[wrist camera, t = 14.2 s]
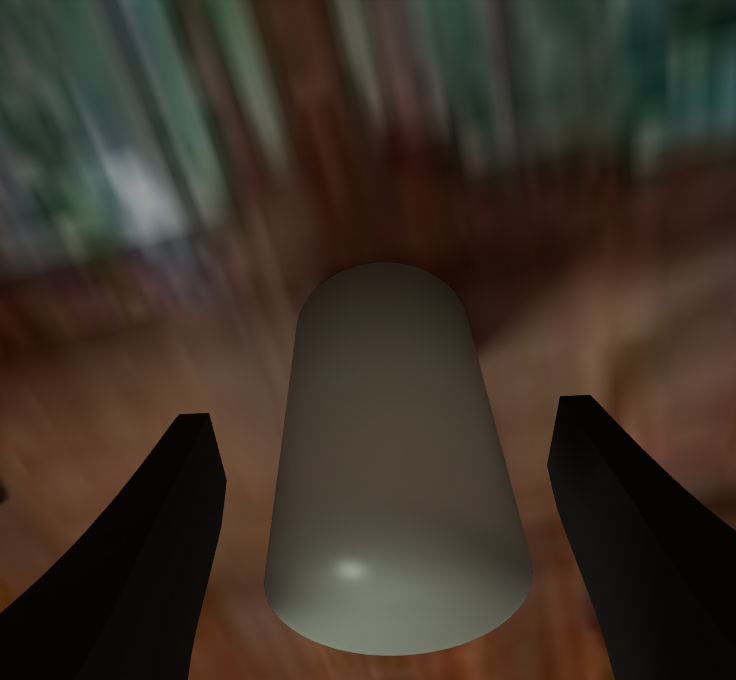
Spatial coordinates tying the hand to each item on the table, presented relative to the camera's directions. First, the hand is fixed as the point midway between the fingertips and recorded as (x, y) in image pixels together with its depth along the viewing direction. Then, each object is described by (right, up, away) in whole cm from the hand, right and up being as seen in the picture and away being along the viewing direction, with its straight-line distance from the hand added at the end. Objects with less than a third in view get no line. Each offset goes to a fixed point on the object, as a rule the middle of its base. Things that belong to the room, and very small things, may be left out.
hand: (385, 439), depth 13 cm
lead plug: (0, +2, +3) cm, 4 cm away
